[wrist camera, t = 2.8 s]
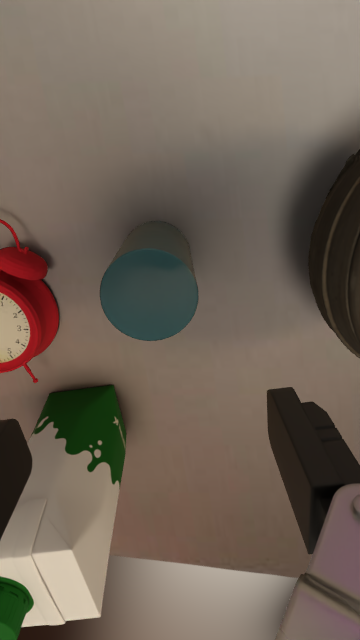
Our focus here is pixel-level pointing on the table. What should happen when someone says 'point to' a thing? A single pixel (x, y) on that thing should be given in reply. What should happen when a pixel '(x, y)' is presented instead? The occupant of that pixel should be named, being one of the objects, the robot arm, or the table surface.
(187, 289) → the can
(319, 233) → the pot
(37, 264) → the alarm clock
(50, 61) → the table surface
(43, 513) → the milk carton
